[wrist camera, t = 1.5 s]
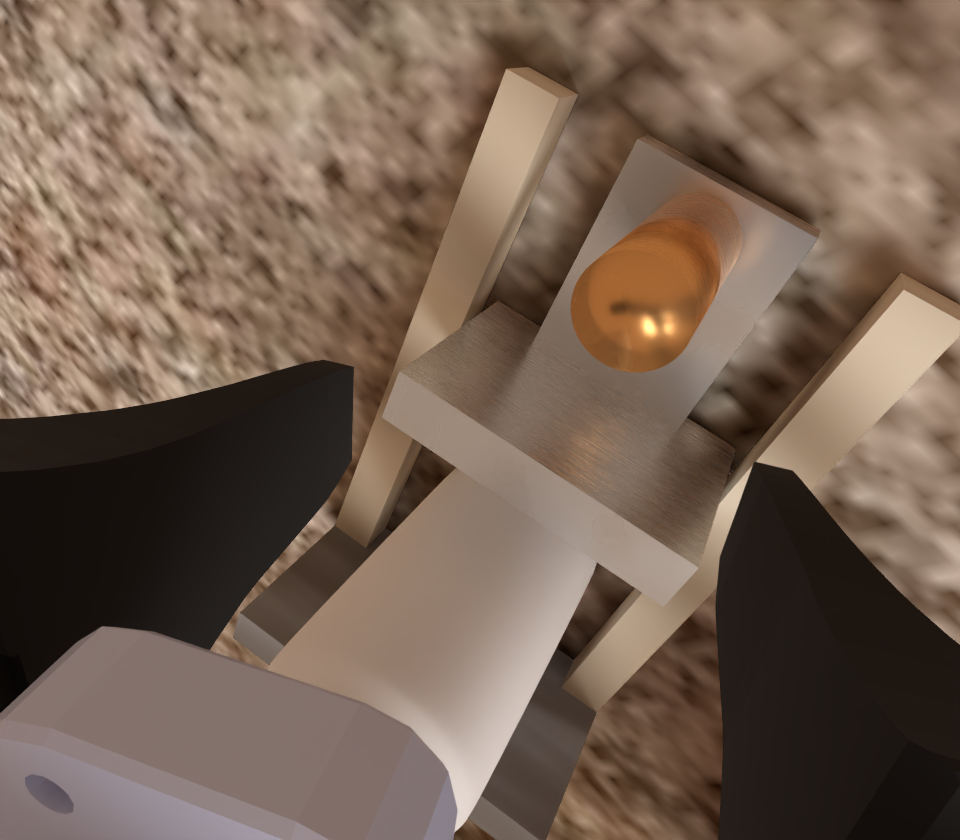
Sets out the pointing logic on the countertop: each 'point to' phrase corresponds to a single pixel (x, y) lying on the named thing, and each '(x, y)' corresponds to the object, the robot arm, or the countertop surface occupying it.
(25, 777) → the robot arm
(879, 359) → the press frame
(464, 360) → the press jaw
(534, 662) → the can
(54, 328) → the countertop surface
